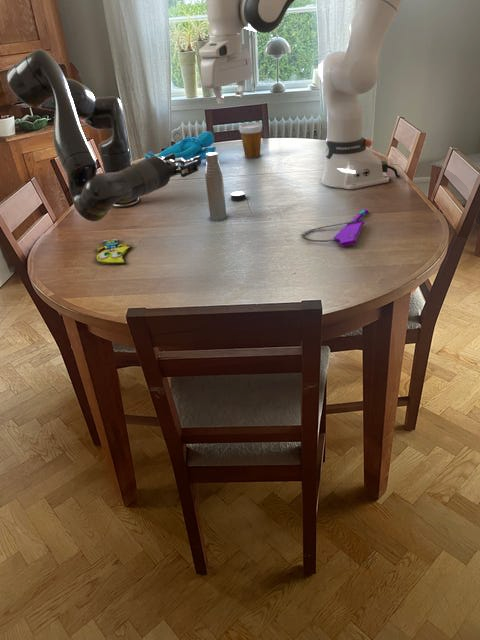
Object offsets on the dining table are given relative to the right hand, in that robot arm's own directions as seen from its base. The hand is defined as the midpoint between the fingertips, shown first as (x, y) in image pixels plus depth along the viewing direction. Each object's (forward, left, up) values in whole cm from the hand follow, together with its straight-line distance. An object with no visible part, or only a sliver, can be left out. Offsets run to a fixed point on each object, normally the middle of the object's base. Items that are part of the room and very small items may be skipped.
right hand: (230, 100), depth 142 cm
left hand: (+16, +23, -9) cm, 30 cm away
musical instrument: (-22, +36, -30) cm, 52 cm away
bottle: (+8, +15, -30) cm, 34 cm away
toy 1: (+39, +31, -30) cm, 58 cm away
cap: (0, 0, -28) cm, 28 cm away
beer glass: (-14, -51, -30) cm, 61 cm away
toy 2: (+16, -51, -30) cm, 61 cm away
